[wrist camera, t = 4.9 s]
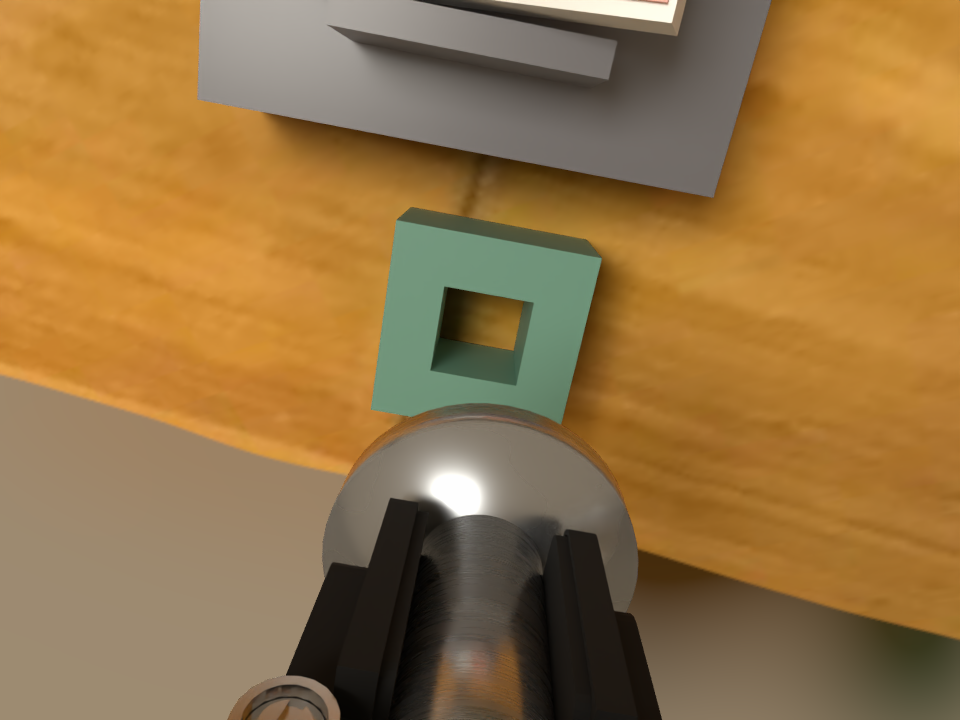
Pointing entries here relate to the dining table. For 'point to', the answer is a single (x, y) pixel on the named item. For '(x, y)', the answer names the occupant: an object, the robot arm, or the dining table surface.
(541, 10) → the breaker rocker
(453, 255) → the stylus holder
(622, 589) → the metal knob
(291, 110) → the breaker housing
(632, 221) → the dining table surface
